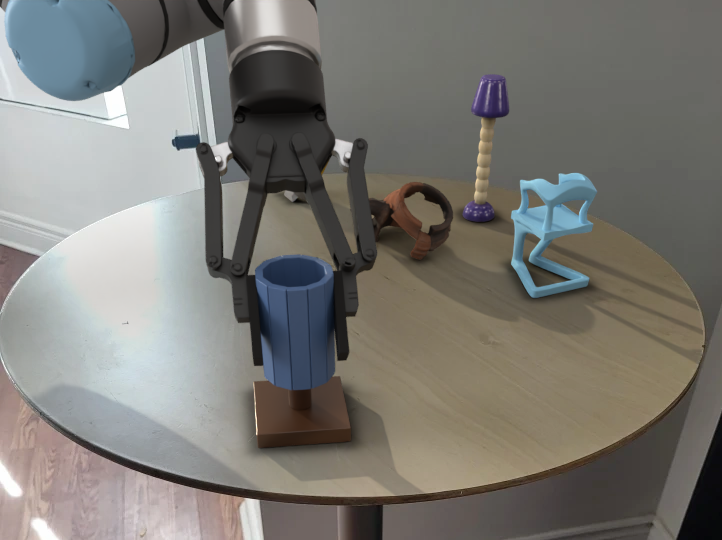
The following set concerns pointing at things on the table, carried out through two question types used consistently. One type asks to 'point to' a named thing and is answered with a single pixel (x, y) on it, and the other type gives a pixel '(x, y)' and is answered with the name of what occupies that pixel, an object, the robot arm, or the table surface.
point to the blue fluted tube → (296, 320)
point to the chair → (551, 228)
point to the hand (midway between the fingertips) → (301, 359)
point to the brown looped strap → (412, 217)
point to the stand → (300, 414)
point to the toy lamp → (486, 140)
